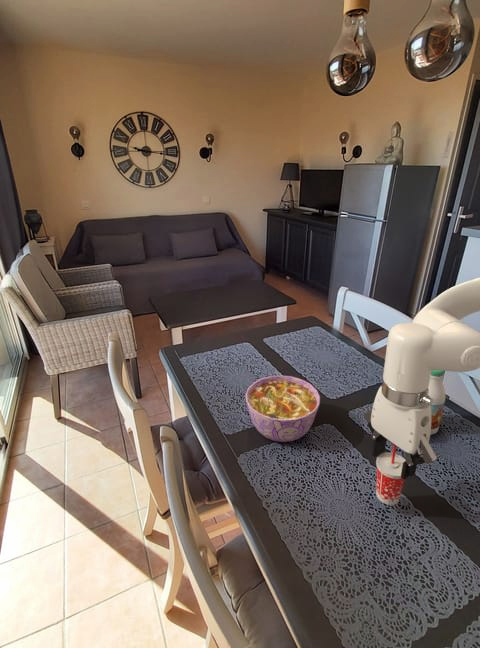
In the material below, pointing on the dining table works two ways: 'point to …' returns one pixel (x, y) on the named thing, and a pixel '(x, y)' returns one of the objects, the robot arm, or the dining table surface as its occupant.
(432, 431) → the milk bottle
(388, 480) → the beverage cup
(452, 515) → the dining table surface
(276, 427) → the bowl of food
